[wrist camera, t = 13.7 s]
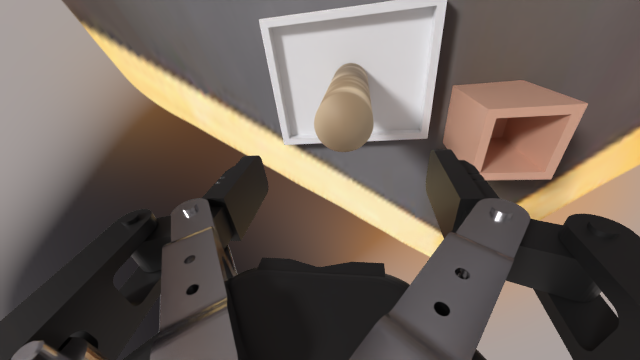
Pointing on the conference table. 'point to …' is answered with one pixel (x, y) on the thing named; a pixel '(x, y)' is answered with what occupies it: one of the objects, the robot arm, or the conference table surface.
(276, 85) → the tray
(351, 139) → the dowel pin
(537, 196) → the conference table surface
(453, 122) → the pink open-ended box
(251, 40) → the conference table surface
